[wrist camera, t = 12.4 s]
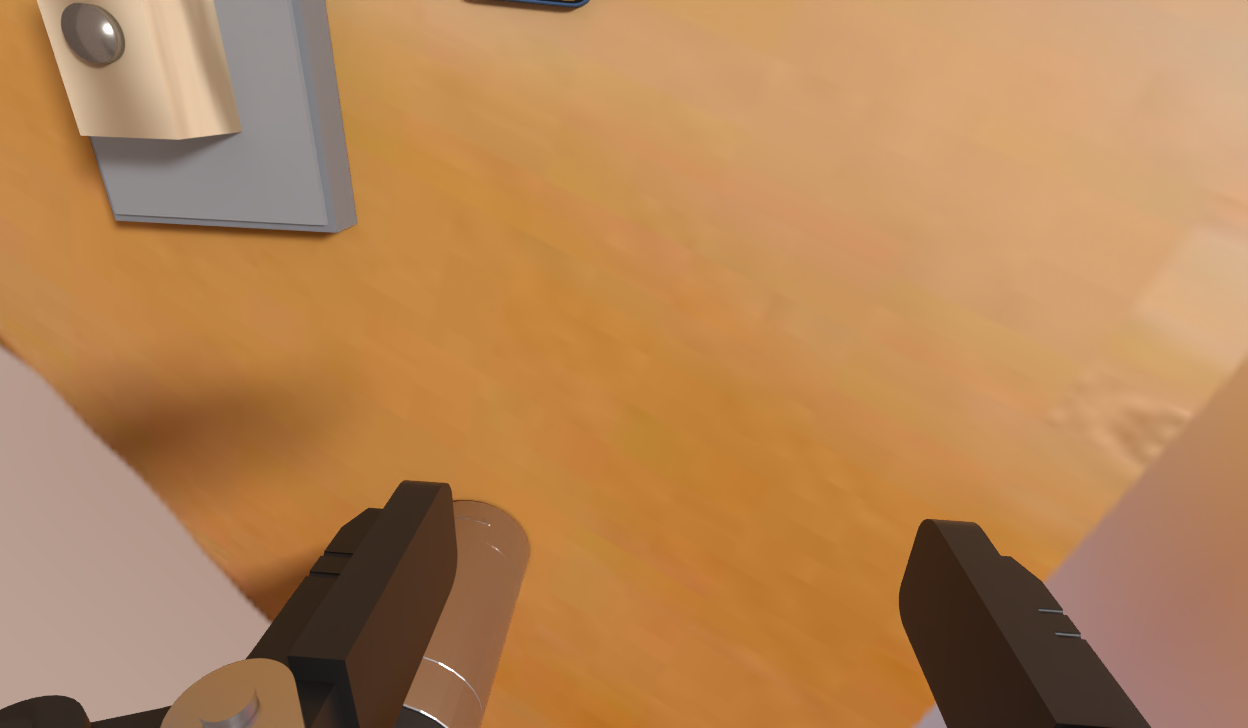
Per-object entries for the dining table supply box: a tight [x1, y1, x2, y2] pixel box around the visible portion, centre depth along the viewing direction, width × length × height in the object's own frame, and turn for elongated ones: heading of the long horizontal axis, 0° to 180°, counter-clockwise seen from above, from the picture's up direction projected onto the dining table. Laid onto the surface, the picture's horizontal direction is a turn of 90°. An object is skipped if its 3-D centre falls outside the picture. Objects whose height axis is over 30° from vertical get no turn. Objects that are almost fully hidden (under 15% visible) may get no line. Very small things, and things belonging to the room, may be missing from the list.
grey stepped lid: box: [89, 0, 357, 233], centre depth 34 cm, size 20×14×3 cm
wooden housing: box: [37, 0, 242, 140], centre depth 30 cm, size 5×9×6 cm, turn 178°
